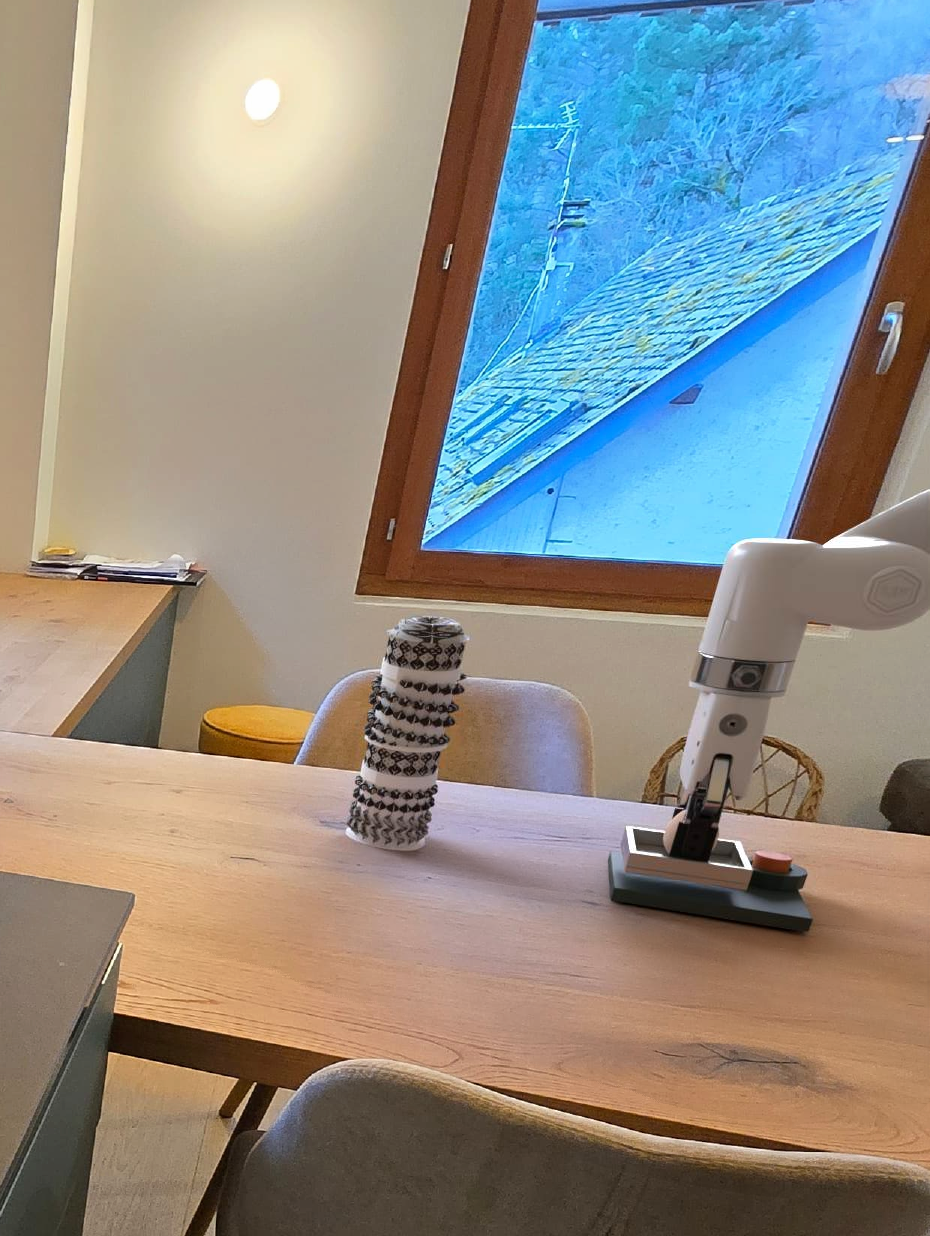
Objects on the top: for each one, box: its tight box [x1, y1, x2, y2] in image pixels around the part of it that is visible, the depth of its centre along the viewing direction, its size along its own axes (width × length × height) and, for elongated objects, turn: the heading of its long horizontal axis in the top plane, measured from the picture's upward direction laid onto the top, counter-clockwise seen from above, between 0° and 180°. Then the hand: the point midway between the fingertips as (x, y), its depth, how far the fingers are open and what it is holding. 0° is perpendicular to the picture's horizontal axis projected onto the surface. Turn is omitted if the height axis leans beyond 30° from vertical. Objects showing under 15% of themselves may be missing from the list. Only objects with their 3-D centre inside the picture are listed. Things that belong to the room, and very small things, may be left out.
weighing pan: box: [620, 825, 753, 890], centre depth 121 cm, size 10×10×2 cm
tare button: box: [752, 850, 794, 872], centre depth 122 cm, size 3×3×2 cm
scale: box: [607, 851, 814, 933], centre depth 122 cm, size 16×14×3 cm
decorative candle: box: [345, 615, 471, 852], centre depth 132 cm, size 9×9×25 cm
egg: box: [663, 810, 720, 853], centre depth 120 cm, size 4×4×6 cm
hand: (685, 853), depth 121 cm, fingers closed on egg, 4 cm apart
